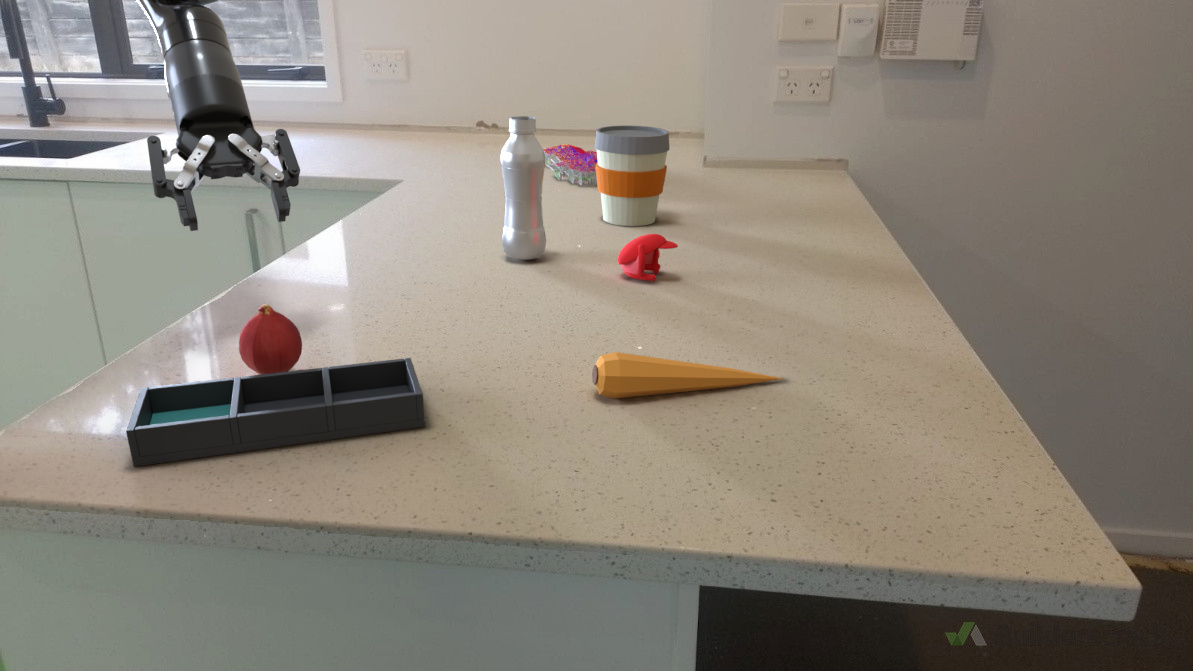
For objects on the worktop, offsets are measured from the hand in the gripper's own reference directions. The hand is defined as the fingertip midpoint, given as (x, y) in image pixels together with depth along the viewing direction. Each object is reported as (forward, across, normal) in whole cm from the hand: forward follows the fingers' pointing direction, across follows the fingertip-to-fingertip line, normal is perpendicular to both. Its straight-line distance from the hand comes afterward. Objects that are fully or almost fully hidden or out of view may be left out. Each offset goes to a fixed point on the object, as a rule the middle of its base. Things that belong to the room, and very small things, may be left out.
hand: (239, 222), depth 86 cm
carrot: (+32, +36, -12) cm, 49 cm away
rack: (+24, -1, -5) cm, 24 cm away
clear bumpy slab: (-37, +77, +57) cm, 103 cm away
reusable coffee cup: (-10, +66, +30) cm, 73 cm away
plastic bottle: (-1, +40, +21) cm, 45 cm away
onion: (+17, 0, +2) cm, 17 cm away
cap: (+10, +51, +10) cm, 53 cm away
